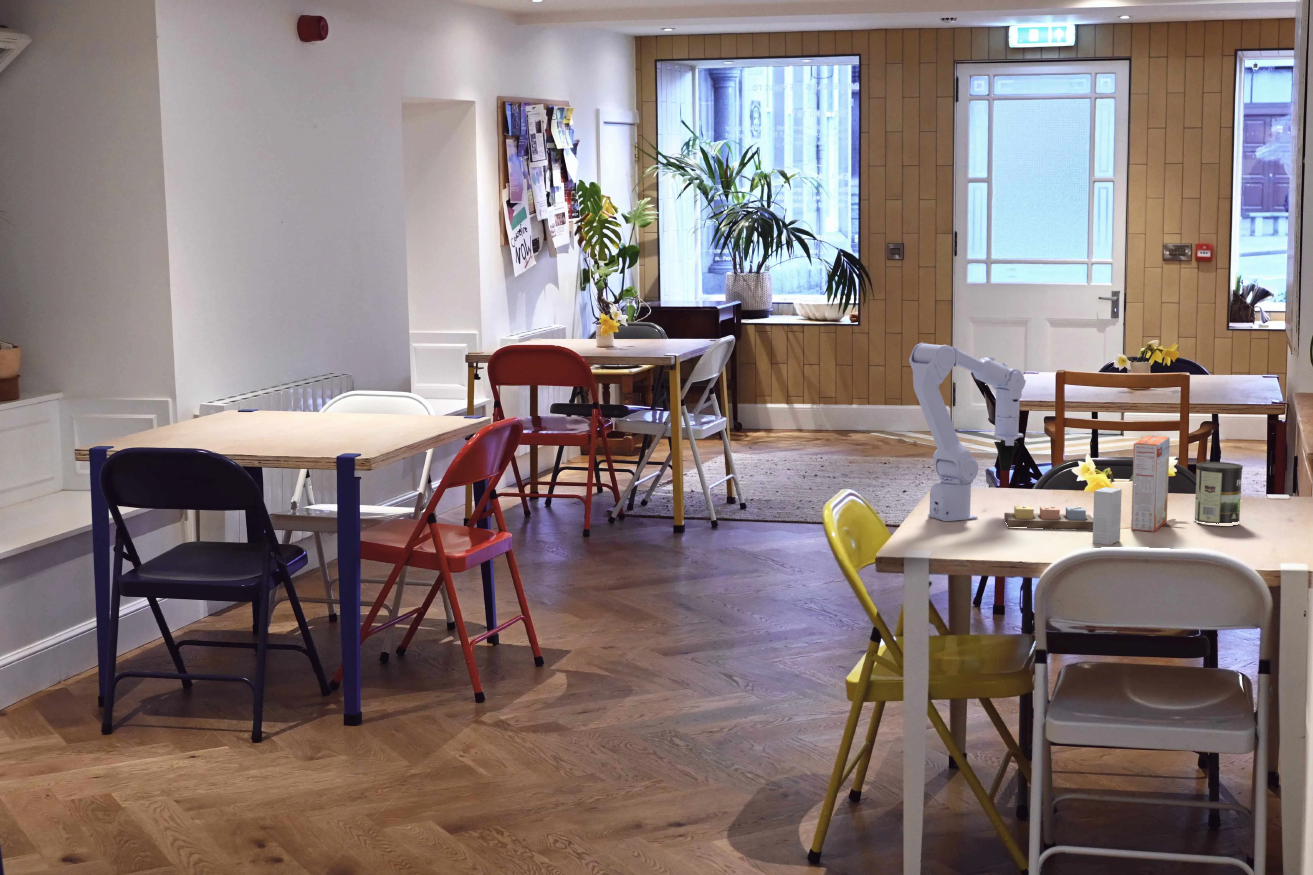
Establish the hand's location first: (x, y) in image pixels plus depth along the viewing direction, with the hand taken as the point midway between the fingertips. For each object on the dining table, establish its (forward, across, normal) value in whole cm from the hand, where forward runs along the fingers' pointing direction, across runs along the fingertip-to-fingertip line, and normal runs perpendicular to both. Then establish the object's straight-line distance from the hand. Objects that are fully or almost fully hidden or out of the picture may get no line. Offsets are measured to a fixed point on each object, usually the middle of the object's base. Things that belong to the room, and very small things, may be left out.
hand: (1005, 470), depth 348 cm
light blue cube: (+10, -17, -15) cm, 24 cm away
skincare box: (+11, -34, -19) cm, 40 cm away
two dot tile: (+10, -17, -9) cm, 21 cm away
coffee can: (+11, -9, -49) cm, 51 cm away
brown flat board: (+10, -17, -9) cm, 22 cm away
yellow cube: (+10, -17, -3) cm, 20 cm away
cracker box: (+11, -15, -32) cm, 37 cm away
